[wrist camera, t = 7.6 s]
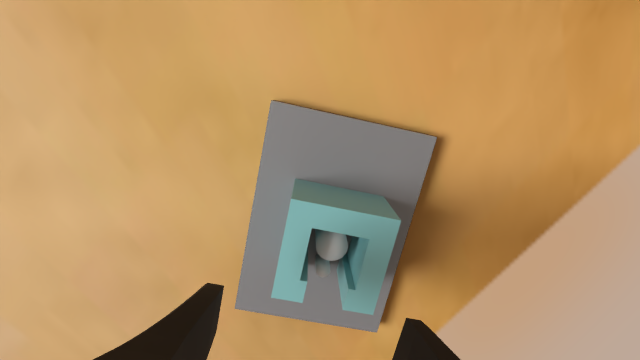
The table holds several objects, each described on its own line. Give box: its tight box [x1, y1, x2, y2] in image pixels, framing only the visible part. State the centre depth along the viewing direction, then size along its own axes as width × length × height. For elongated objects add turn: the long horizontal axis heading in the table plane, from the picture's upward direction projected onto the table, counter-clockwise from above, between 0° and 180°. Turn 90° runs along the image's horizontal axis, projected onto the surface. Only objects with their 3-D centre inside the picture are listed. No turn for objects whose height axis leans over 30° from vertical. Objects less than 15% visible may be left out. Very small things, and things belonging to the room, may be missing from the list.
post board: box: [235, 100, 437, 332], centre depth 19 cm, size 14×10×4 cm
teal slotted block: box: [271, 179, 401, 315], centre depth 18 cm, size 6×6×4 cm
